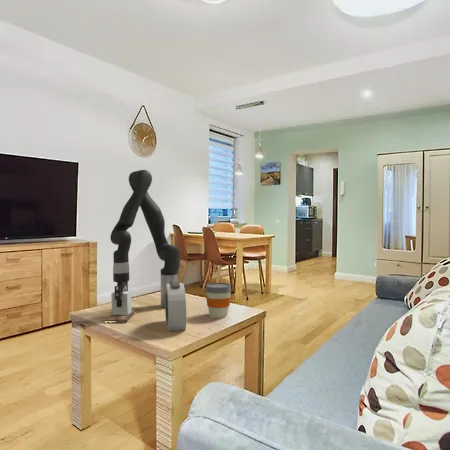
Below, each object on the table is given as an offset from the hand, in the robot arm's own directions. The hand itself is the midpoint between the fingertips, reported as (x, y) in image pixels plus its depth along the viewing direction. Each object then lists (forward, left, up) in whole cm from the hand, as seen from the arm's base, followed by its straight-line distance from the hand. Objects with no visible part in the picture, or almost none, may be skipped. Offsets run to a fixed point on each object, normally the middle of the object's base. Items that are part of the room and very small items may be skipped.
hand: (121, 304), depth 173 cm
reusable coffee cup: (-47, -1, -6) cm, 47 cm away
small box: (0, 0, -5) cm, 5 cm away
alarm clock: (-28, +15, -6) cm, 32 cm away
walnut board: (0, 0, -6) cm, 6 cm away
